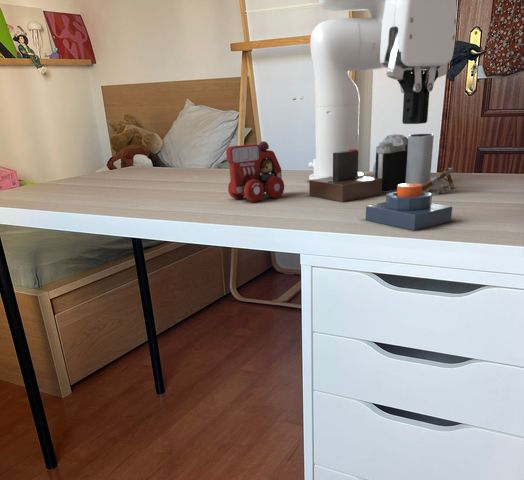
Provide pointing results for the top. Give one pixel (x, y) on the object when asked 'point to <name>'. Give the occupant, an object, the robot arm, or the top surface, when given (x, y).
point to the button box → (409, 211)
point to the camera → (391, 161)
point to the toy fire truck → (254, 172)
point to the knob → (345, 165)
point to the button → (409, 189)
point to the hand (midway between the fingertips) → (414, 123)
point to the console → (345, 188)
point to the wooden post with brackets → (438, 178)
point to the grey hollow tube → (419, 158)
